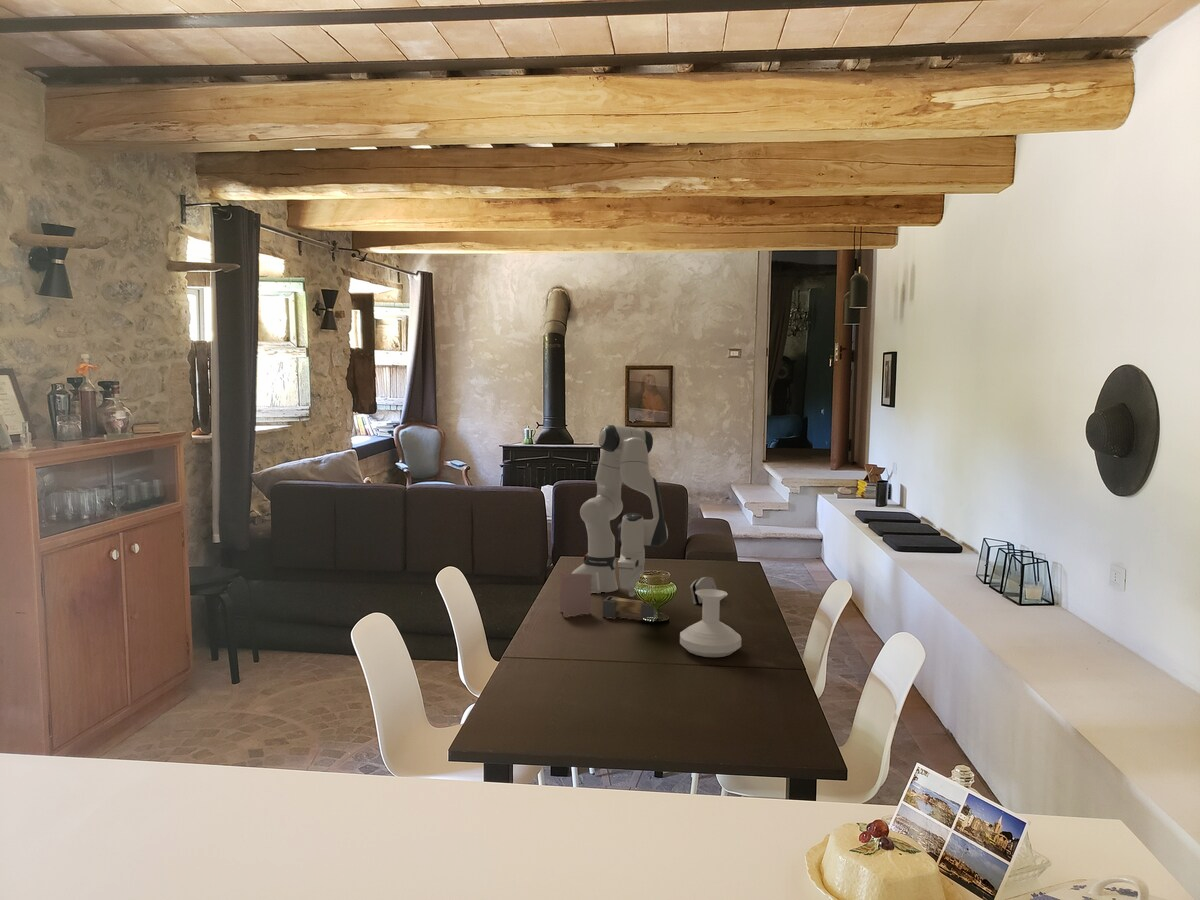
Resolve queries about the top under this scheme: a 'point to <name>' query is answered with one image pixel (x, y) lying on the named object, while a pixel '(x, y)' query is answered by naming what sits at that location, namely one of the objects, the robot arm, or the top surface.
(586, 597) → the greeting card
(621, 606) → the oak slat
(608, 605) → the end cap frame
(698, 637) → the candle holder
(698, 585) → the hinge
